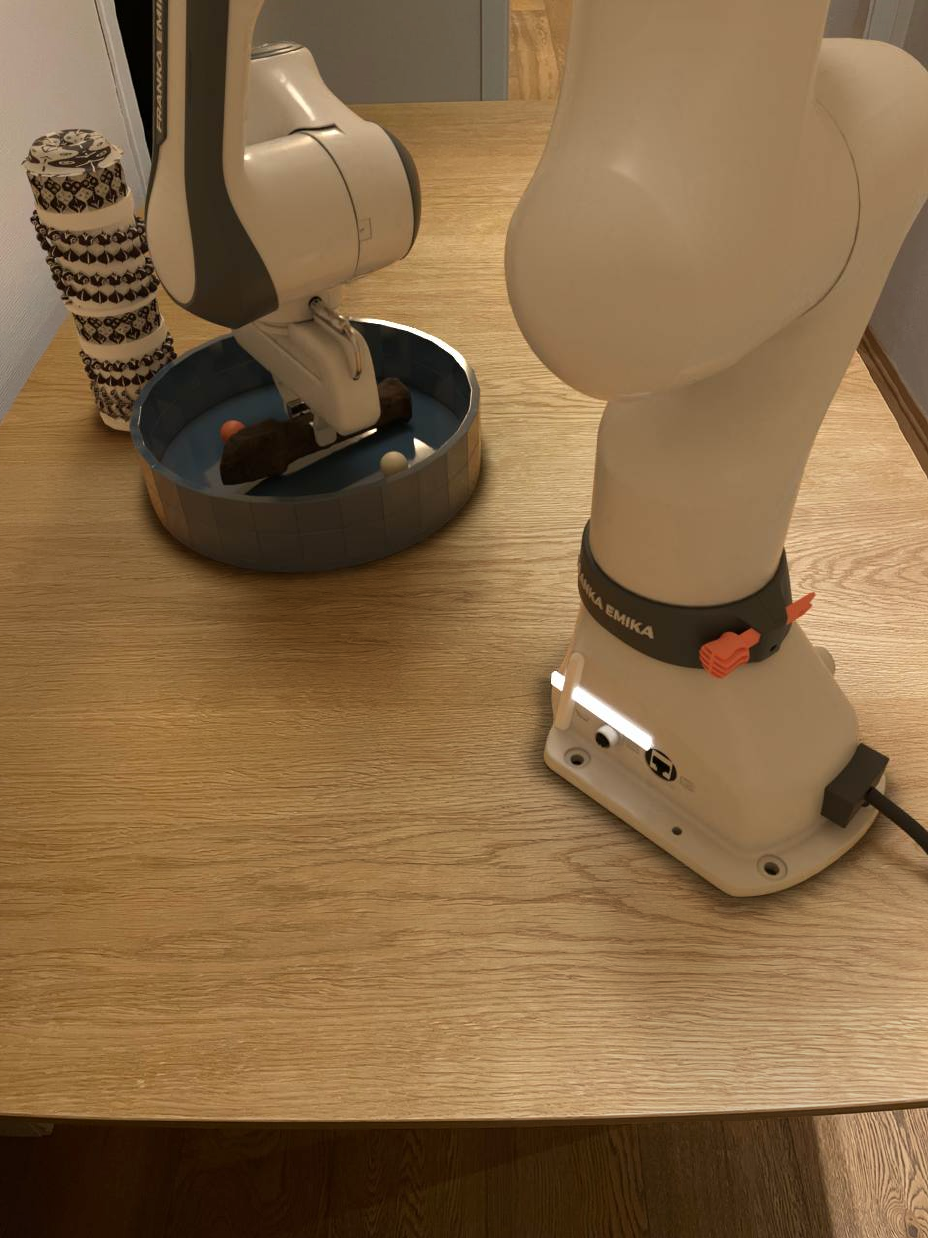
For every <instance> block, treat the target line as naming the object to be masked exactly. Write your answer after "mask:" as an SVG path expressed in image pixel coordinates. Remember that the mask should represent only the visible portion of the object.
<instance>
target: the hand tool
mask: <svg viewBox="0 0 928 1238" xmlns="http://www.w3.org/2000/svg"><path fill="white" fill-rule="evenodd" d="M377 389H378V396H379V402H380V417H379V419H378V421H377V422H376V423H375V424H374V425H372V426H370V427H368V428H366V429H363V430H361V431H358V432H355V433H353V434H350V435H346V436H343V435H340V434H339V433H337V432H336V436H337V437H336V440H335V441H334V442H333V443H331V444H328V445H326V446H323V447H322V446H319V445H318V444H317V443H316V442H315V441H314V440H313V439H312V438H311V436H310V433H311V432H310V430H309V423H310V422H313V420H314V414H313V413H311V412H310V413H307V414H304V415H302V416H299V417H296V418H294V419H290V420H288V421H283V422H278V421H277V420H275V419H273V418H271V419H268V420H265V421H263V422H261V423H259V424H255V425H253V426H248V427H247V428H243V429H241V430H239V431H238V432H237V433H235V434H232V435H231V436H230V437H229V439H228V441H227V442H226V443H225V445H224V449H223V453H222V457H221V462H220V476H221V480H222V483H223V485H237V484H243V483H247V482H254V481H256V480H258V479H263V478H266V477H269V476H273V475H277V474H282V473H284V472H286V471H287V468H288V465H289V464H291V463H293V462H294V461H296V460H298V459H300V458H303V457H305V456H307V455H310V454H313V453H316V452H318V451H320V450H324V449H328V448H330V447H331V446H333V445H335V444H337V443H340V442H342V441H345V440H347V439H350V438H353V437H355V436H358V435H361V434H363V433H365V432H368V431H371V430H373V429H376V428H379V427H382V426H384V425H386V424H388V423H390V422H392V421H395V420H398V419H401V420H402V421H404V422H406V423H408V422H409V421H410V420H411V418H412V416H413V415H412V398H411V394H410V392H409V390H408V388H407V387H406V386H405V385H404V384H403V383H402V382H401V381H399V379H398V378H386V379H385V380H384V381H382V382H381V383H380V384H379V385H378V386H377Z"/></svg>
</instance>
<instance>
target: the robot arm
mask: <svg viewBox="0 0 928 1238" xmlns="http://www.w3.org/2000/svg"><path fill="white" fill-rule="evenodd" d="M265 1H266V0H152V153H151V163H150V170H149V177H148V183H147V189H146V193H145V194H146V195H145V202H144V211H143V214H144V215H143V220H144V224H145V233H144V235H145V236H146V241H147V246H148V250H149V251H148V253H149V258H150V259H151V261H152V264H153V267H154V272H155V274H156V278H157V279H159V281H160V285H161V287H162V288H163V290H164V292H165V293H166V295H167V296H168V297H169V299H171V301H172V302H173V303H174V304H176V306H178V307H180V308H182V309H183V310H185V311H187V312H188V313H190V314H191V315H194V316H195V317H197V318H200V319H201V320H205V321H206V322H209V323H211V324H214V325H217V326H221V327H223V328H227V329H230V331H231V332H232V333H233V335H234V337H235V339H236V341H237V343H238V344H239V345H240V346H241V347H242V348H243V349H244V350H246V351H247V352H248V353H249V354H250V355H251V356H252V357H253V358H255V359H256V360H257V361H258V362H259V363H260V364H261V365H262V366H264V367H265V368H266V369H267V370H268V371H269V372H270V373H271V374H272V376H273V380H274V382H275V384H276V386H277V388H278V391H279V393H280V395H281V397H282V399H283V402H284V407H285V413H286V415H287V416H288V417H289V418H291V419H294V418H296V417H299V416H302V415H304V414H307V413H310V411H311V413H313V414H314V420H313V422H310V423H309V430H310V432H311V433H310V436H311V438H312V439H313V440H314V441H315V442H316V443H317V444H318V445H319V446H322V447H323V446H326V445H328V444H331V443H333V442H334V441H335V440H336V437H337V436H336V432H337V433H339V434H340V435H343V436H346V435H350V434H353V433H355V432H358V431H361V430H363V429H366V428H368V427H370V426H372V425H374V424H375V423H376V422H377V421H378V419H379V417H380V402H379V396H378V389H377V383H376V378H375V373H374V367H373V363H372V358H371V355H370V351H369V348H368V346H367V343H366V341H365V340H364V338H363V336H362V335H361V334H360V333H359V332H358V331H357V330H356V329H354V328H353V327H352V326H351V325H350V322H349V321H348V320H347V319H346V318H345V317H346V316H344V315H343V314H341V313H339V312H337V311H336V309H338V307H340V306H341V305H342V304H343V302H344V301H345V299H346V295H347V287H346V283H348V282H350V281H353V280H356V279H359V278H362V277H364V276H367V275H370V274H372V273H375V272H378V271H380V270H383V269H385V268H388V267H390V266H391V265H392V266H393V265H394V264H395V263H397V262H398V261H401V260H404V259H405V258H406V257H407V256H408V255H409V254H410V251H412V249H413V246H414V244H415V243H416V240H417V238H418V234H419V230H420V225H421V219H422V188H421V182H420V177H419V172H418V169H417V165H416V163H415V160H414V158H413V157H412V156H413V155H412V154H411V153H410V151H409V150H408V149H407V147H406V146H405V145H404V144H403V143H402V141H401V140H400V139H399V138H398V137H396V136H395V135H394V134H393V132H391V131H390V130H389V129H387V128H385V126H383V125H381V124H380V123H378V122H376V121H375V120H371V119H364V118H362V117H360V116H359V115H358V114H356V113H355V112H354V111H353V110H351V109H350V108H349V107H348V106H347V105H346V104H344V102H342V100H340V99H339V98H338V97H337V96H336V95H335V94H334V93H333V92H332V91H331V90H330V89H329V87H328V86H327V85H326V83H325V82H324V80H323V78H322V76H321V74H320V71H319V69H318V67H317V63H316V61H315V58H314V56H313V54H312V52H311V51H310V50H309V48H307V47H305V46H304V45H302V44H299V43H297V42H295V41H288V40H278V41H277V40H276V41H275V40H274V41H268V42H265V43H260V44H253V36H254V31H255V27H256V23H257V19H258V17H259V14H260V12H261V9H262V7H263V5H264V3H265ZM830 4H831V0H572V4H571V15H570V24H569V31H568V38H567V46H566V52H565V59H564V65H563V71H562V76H561V77H562V78H561V83H560V88H559V93H558V98H557V103H556V108H555V110H554V111H555V112H554V116H553V119H552V122H551V127H550V130H549V134H548V137H547V139H546V143H545V146H544V149H543V151H542V154H541V156H540V159H539V161H538V164H537V165H536V167H535V170H534V173H533V175H532V177H531V178H530V181H529V182H528V184H527V186H526V187H525V189H524V191H523V193H522V194H521V196H520V198H519V200H518V202H517V204H516V205H515V208H514V209H513V212H512V214H511V218H510V221H509V223H508V227H507V231H506V236H505V242H504V253H503V270H504V280H505V281H504V282H505V286H506V292H507V298H508V302H509V305H510V309H511V312H512V315H513V317H514V320H515V323H516V325H517V327H518V329H519V331H520V333H521V335H522V337H523V339H524V340H525V342H526V343H527V345H528V346H529V348H530V350H531V351H532V353H533V354H534V355H535V356H536V357H537V359H538V361H540V362H541V363H542V364H543V366H544V367H545V368H546V369H547V370H548V371H549V372H550V373H551V374H552V375H554V376H555V377H556V378H557V379H559V380H560V381H561V382H563V383H564V384H565V385H567V386H568V387H570V388H572V389H573V390H575V391H576V392H578V393H580V394H583V395H584V396H587V397H589V398H592V399H596V400H598V401H603V402H607V403H606V404H605V407H604V410H603V412H602V415H601V418H600V421H599V424H598V430H597V435H596V445H595V457H594V459H595V461H594V470H593V471H594V472H593V482H592V492H591V493H592V494H591V507H590V516H589V518H588V520H587V521H586V523H585V525H584V528H583V531H582V536H581V542H580V550H579V554H577V560H576V561H577V562H576V566H577V590H578V595H579V598H580V603H579V607H578V612H577V615H576V619H575V623H574V628H573V632H572V635H571V639H570V643H569V646H568V648H567V652H566V655H565V656H564V658H563V660H562V661H561V664H560V665H559V667H558V669H557V670H556V671H553V672H552V673H551V681H550V682H551V685H552V688H551V693H550V694H551V695H550V697H551V698H550V700H551V702H550V703H551V711H552V719H553V720H552V721H553V722H552V724H551V727H550V730H549V732H548V734H547V737H546V741H545V746H544V750H543V761H544V762H545V763H544V764H546V766H547V767H548V768H549V769H550V770H552V771H553V772H555V773H556V774H557V775H558V776H560V777H562V778H563V779H564V780H566V781H567V782H568V783H570V784H571V785H573V786H574V787H575V788H577V789H578V790H580V791H581V792H582V793H584V794H585V795H587V796H588V797H589V798H591V799H592V800H593V801H595V802H597V803H598V804H599V805H600V806H601V807H603V808H605V810H606V809H607V810H608V811H609V812H610V813H611V814H613V815H615V817H617V818H618V819H620V820H621V821H623V822H624V823H626V824H627V825H629V826H630V827H631V828H633V829H634V830H636V831H637V832H638V833H639V834H641V835H642V836H644V837H645V838H647V839H648V840H650V841H651V842H652V843H654V844H655V845H657V846H658V847H660V848H661V849H662V850H664V851H665V852H666V853H668V854H669V855H671V856H672V857H673V858H674V859H676V860H678V861H679V862H680V863H682V864H683V865H684V866H686V867H688V869H690V870H692V871H693V872H695V874H696V875H697V874H698V875H699V876H700V877H701V878H703V879H704V880H706V881H707V882H708V883H710V884H712V885H713V886H714V887H715V888H717V889H719V890H720V891H722V892H723V893H725V894H726V895H729V896H732V897H737V898H741V897H743V898H745V897H747V898H748V897H758V896H763V895H771V894H774V893H778V892H781V891H783V890H786V889H789V888H792V887H794V886H796V885H798V884H800V883H803V882H805V881H807V880H808V879H810V878H812V877H814V876H815V875H817V874H819V873H821V872H822V871H823V870H825V869H826V868H827V867H829V866H831V865H832V864H834V863H835V862H836V861H838V860H839V859H840V858H841V857H842V856H844V855H845V854H846V853H847V852H848V851H849V850H851V849H852V848H853V847H854V846H855V845H856V844H857V843H858V842H859V841H860V840H861V839H862V838H863V837H864V835H865V834H866V833H867V832H868V830H869V829H870V828H871V826H872V825H873V824H874V822H875V821H876V818H877V816H878V814H879V813H881V815H883V816H884V817H886V818H887V819H888V820H889V821H890V822H892V823H894V824H895V825H896V826H897V827H898V828H899V829H900V830H902V831H903V832H904V833H906V835H908V836H909V837H910V838H911V839H912V840H913V841H914V842H915V843H916V844H917V845H918V846H919V847H920V849H922V850H923V852H924V853H925V854H926V855H927V856H928V830H927V829H926V828H925V827H924V826H923V825H922V824H921V823H919V822H918V821H917V820H916V819H915V818H914V817H913V816H911V815H910V814H909V813H908V812H906V811H905V810H904V809H903V808H901V807H900V806H898V804H897V803H895V802H893V801H892V800H891V799H889V798H888V797H887V796H886V795H885V793H886V792H885V791H886V785H887V784H886V783H887V778H886V775H885V770H886V768H887V767H888V764H889V761H890V757H888V756H886V755H884V754H883V753H881V752H879V751H877V750H876V749H874V748H872V747H871V746H868V745H866V744H864V742H863V743H862V742H860V743H859V739H860V738H859V737H860V734H859V733H860V727H859V720H858V715H857V711H856V709H855V707H854V706H853V704H852V702H851V701H850V700H849V698H848V697H847V695H846V694H845V692H844V691H843V689H842V688H841V686H840V685H839V683H838V682H837V680H836V678H835V677H834V676H835V673H836V662H835V659H834V657H833V656H832V654H831V653H830V651H829V650H828V649H827V648H825V647H823V646H819V645H813V643H812V641H811V640H810V639H809V637H808V636H807V634H806V632H805V631H804V630H803V628H802V626H801V625H800V624H799V622H798V619H799V618H801V617H802V616H804V615H805V614H806V613H807V612H808V611H809V610H810V609H811V608H812V607H813V604H812V603H811V602H812V601H813V600H814V599H815V597H816V593H815V591H812V592H809V593H807V594H806V595H804V596H802V597H801V598H799V599H797V600H796V601H794V602H793V595H792V593H793V592H792V585H791V578H790V569H789V564H788V559H787V552H786V548H785V543H786V540H787V536H788V532H789V530H790V529H789V528H790V525H791V522H792V517H793V514H794V510H795V507H796V503H797V500H798V496H799V491H800V488H801V485H802V481H803V478H804V473H805V470H806V467H807V464H808V461H809V459H810V458H809V457H810V455H811V452H812V449H813V447H814V444H815V441H816V439H817V436H818V433H819V430H820V428H821V426H822V424H823V421H824V419H825V417H826V415H827V413H828V410H829V408H830V406H831V404H832V402H833V400H834V398H835V395H836V394H837V392H838V389H839V388H840V386H841V383H842V381H843V380H844V376H845V375H846V373H847V371H848V368H849V366H850V364H851V362H852V360H853V358H854V356H855V354H856V352H857V349H858V347H859V345H860V342H861V341H862V338H863V336H864V334H865V331H866V329H867V327H868V325H869V322H870V320H871V318H872V315H873V313H874V311H875V308H876V306H877V303H878V301H879V299H880V297H881V294H882V292H883V290H884V288H885V285H886V282H887V280H888V277H889V275H890V272H891V270H892V268H893V265H894V263H895V261H896V259H897V256H898V254H899V251H900V249H901V247H902V245H903V243H904V241H905V239H906V237H907V235H908V233H909V232H910V229H911V228H912V226H913V224H914V222H915V220H916V219H917V217H918V216H919V213H920V211H922V208H923V206H924V205H925V204H926V201H927V200H928V70H927V69H926V68H925V67H924V65H923V64H922V63H921V62H920V61H919V60H917V58H915V57H914V56H913V55H912V54H910V53H909V52H907V51H906V50H904V49H902V48H900V47H898V46H896V45H894V44H891V43H887V42H884V41H882V40H877V39H876V40H874V39H865V38H854V37H824V33H825V29H826V24H827V19H828V14H829V10H830ZM309 408H310V409H309ZM574 762H578V763H580V764H575V763H574ZM767 869H768V870H771V871H773V872H774V873H775V874H770V873H769V872H767V871H766V870H767Z"/></svg>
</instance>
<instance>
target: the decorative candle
mask: <svg viewBox="0 0 928 1238" xmlns="http://www.w3.org/2000/svg"><path fill="white" fill-rule="evenodd" d="M27 155H28V156H27V157H25V158H24V159H23V161H22V162H21V164H20V167H21V169H22V170H23V172H25V173H26V176H27V179H28V182H29V186H30V188H31V192H32V195H33V197H34V199H35V200H34V202H33V204H34V207H35V209H34V210H33V211H32V215H31V217H30V218H29V220H30V221H29V222H30V223H31V225H33V226H34V230H35V232H36V233H37V234H35V239H36V240H37V241H38V242H39V243H40V244H39V246H40V248H41V249H42V250H43V251H46V253H47V256H46V257H45V263H46V264H47V265H48V266H49V270H50V272H51V273H52V274H51V279H52V280H53V281H54V282H55V288H56V289H57V290H59V291H62V294H61V295H60V299H61V300H62V303H63V305H64V307H65V309H66V310H67V311H68V312H71V314H72V318H73V321H74V324H75V326H76V329H77V330H76V335H77V338H78V342H79V344H80V347H81V349H80V350H79V353H78V355H79V357H80V358H81V360H82V363H83V364H84V371H85V372H86V373H87V378H88V379H89V380H90V382H89V389H90V390H91V392H92V394H93V396H94V403H95V405H96V406H97V409H98V411H99V415H100V417H101V419H102V421H103V423H104V425H106V426H108V427H110V428H112V429H114V430H117V431H124V432H130V429H129V426H130V419H131V413H132V407H133V404H134V403H135V401H136V399H137V397H138V396H139V394H140V392H141V390H142V389H143V387H144V386H145V385H146V384H147V383H148V382H149V381H150V380H151V379H152V378H153V377H154V376H155V375H156V374H157V373H158V372H159V371H160V370H161V369H162V368H163V367H164V366H165V365H167V364H168V363H170V362H171V361H173V360H174V359H176V358H177V357H178V353H177V352H176V351H175V349H174V346H172V345H173V344H174V338H173V337H172V336H171V333H170V331H169V330H168V329H167V325H166V321H165V318H164V316H163V315H162V313H161V312H160V306H159V303H158V299H157V297H158V294H159V290H160V286H159V285H161V283H160V281H159V279H158V277H157V275H155V274H153V273H154V272H155V269H154V267H153V264H152V261H151V258H150V256H145V254H146V253H149V250H148V246H147V241H146V235H145V224H144V218H142V217H141V216H138V215H136V214H134V209H135V207H136V204H135V201H134V197H133V192H132V189H131V188H130V187H129V186H128V185H127V183H126V176H125V171H124V169H123V166H122V164H121V159H122V158H123V155H124V151H123V150H122V148H121V147H120V146H118V145H115V144H112V143H110V142H109V140H107V138H106V137H105V136H104V135H103V134H102V133H101V132H98V131H96V130H92V129H85V128H70V129H62V130H56V131H53V132H50V133H46V134H44V135H41V136H40V137H38V138H36V139H35V140H34V141H33V142H32V143H31V146H30V148H29V150H28V154H27ZM48 240H49V241H48Z"/></svg>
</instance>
